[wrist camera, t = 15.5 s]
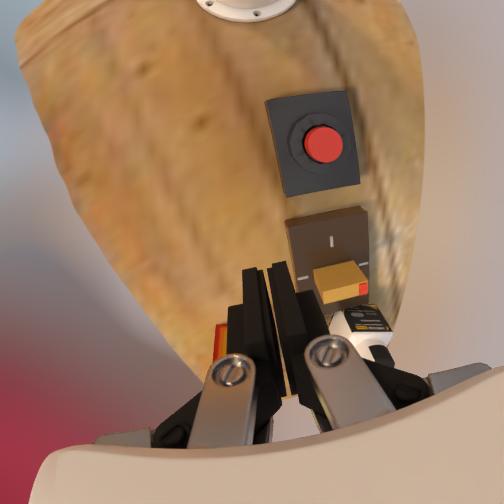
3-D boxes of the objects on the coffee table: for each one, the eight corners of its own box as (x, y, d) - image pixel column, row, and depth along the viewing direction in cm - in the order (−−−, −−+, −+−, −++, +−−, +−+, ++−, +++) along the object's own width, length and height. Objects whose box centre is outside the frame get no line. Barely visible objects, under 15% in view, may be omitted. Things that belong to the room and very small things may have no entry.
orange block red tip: (314, 281, 35) (324, 305, 30) (312, 269, 34) (323, 293, 30) (353, 271, 35) (369, 294, 30) (353, 260, 34) (369, 281, 29)
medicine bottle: (376, 304, 41) (409, 357, 30) (361, 337, 44) (385, 390, 33) (337, 302, 40) (364, 360, 29) (323, 336, 43) (343, 394, 32)
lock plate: (284, 220, 34) (287, 228, 32) (359, 205, 33) (368, 212, 31) (299, 309, 40) (302, 320, 38) (362, 293, 40) (368, 303, 37)
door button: (301, 129, 26) (305, 129, 24) (334, 124, 26) (340, 125, 24) (307, 162, 27) (311, 165, 26) (339, 157, 27) (345, 160, 26)
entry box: (264, 101, 28) (268, 98, 24) (339, 92, 27) (352, 89, 23) (283, 192, 32) (289, 202, 29) (353, 179, 32) (366, 187, 28)
